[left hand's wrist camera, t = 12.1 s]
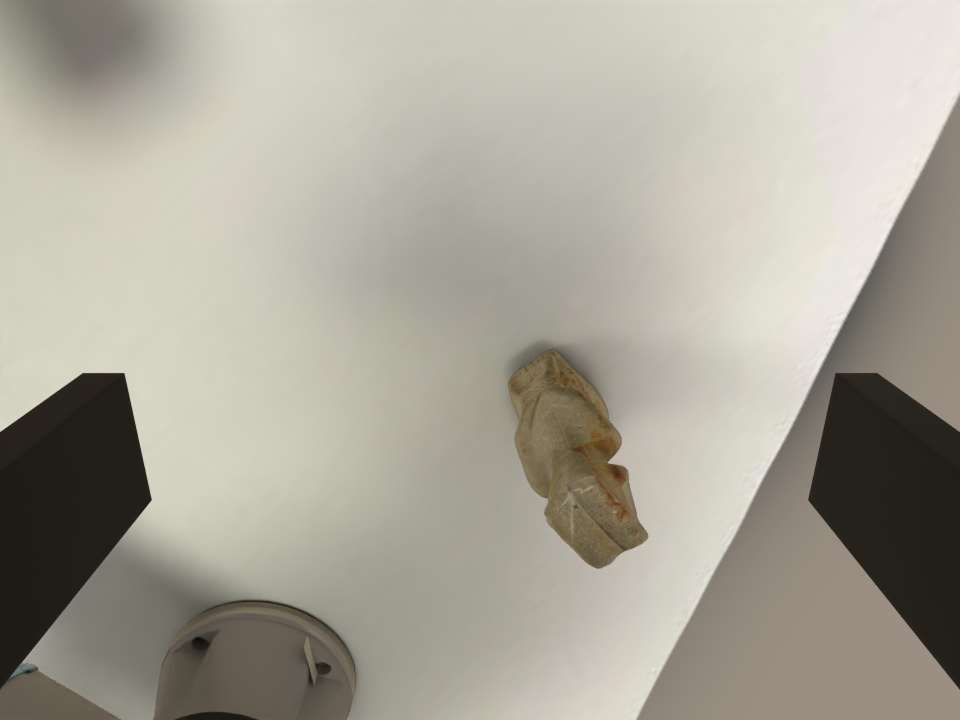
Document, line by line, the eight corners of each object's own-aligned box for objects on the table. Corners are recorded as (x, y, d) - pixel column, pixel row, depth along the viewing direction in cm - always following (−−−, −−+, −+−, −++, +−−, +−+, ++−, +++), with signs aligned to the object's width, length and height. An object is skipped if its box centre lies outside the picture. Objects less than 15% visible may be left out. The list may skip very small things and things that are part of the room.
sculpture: (547, 448, 47) (575, 597, 33) (489, 371, 45) (494, 496, 31) (618, 406, 46) (678, 542, 32) (563, 324, 44) (601, 433, 30)
